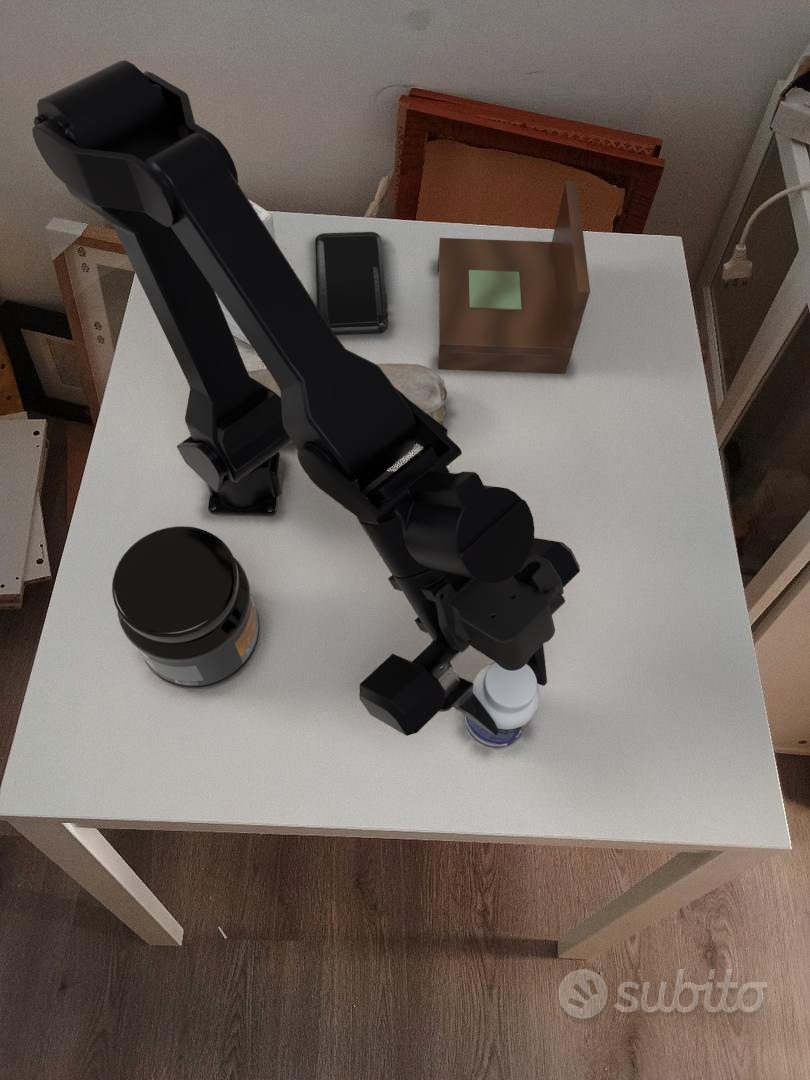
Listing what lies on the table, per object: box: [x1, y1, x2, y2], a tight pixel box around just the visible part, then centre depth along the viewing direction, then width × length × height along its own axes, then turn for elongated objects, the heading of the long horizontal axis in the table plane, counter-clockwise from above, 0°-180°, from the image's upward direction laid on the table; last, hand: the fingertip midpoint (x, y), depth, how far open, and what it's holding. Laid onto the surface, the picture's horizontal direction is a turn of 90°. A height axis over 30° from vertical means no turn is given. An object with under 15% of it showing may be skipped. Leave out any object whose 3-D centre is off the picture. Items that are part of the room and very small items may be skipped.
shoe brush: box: [247, 363, 448, 445], centre depth 84 cm, size 24×8×5 cm, turn 95°
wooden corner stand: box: [437, 180, 591, 375], centre depth 89 cm, size 14×16×12 cm
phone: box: [314, 231, 389, 336], centre depth 95 cm, size 8×1×15 cm
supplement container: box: [111, 525, 261, 691], centre depth 69 cm, size 10×10×12 cm
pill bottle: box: [462, 661, 540, 751], centre depth 67 cm, size 5×5×10 cm
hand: (518, 707), depth 65 cm, fingers closed on pill bottle, 5 cm apart
